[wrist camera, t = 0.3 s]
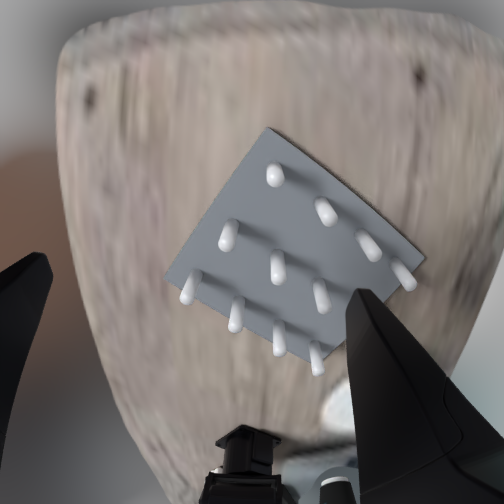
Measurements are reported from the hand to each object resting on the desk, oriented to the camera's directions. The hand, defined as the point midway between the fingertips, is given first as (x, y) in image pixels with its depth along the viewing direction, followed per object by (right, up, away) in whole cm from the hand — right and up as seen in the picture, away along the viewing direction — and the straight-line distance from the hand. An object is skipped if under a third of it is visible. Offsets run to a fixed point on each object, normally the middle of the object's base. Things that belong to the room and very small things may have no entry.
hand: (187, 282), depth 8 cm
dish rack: (+5, 0, +16) cm, 17 cm away
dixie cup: (+16, -39, +35) cm, 55 cm away
